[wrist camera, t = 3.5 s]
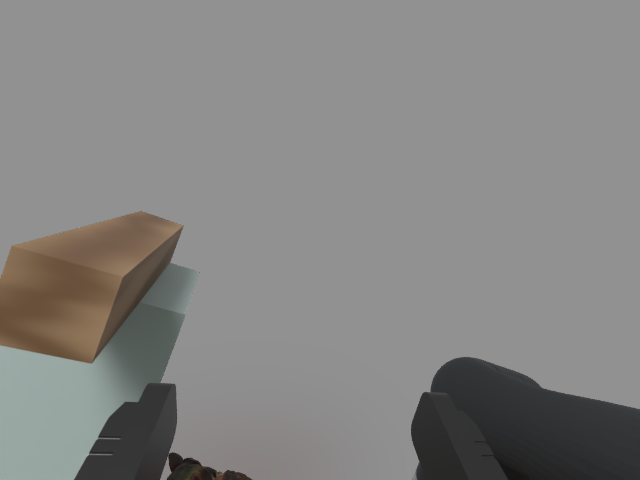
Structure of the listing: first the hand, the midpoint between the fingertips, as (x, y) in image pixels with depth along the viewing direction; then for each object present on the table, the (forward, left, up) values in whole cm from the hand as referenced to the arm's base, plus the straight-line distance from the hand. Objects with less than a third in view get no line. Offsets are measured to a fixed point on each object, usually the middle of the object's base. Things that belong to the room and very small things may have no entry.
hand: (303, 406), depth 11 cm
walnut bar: (+9, -16, -3) cm, 18 cm away
